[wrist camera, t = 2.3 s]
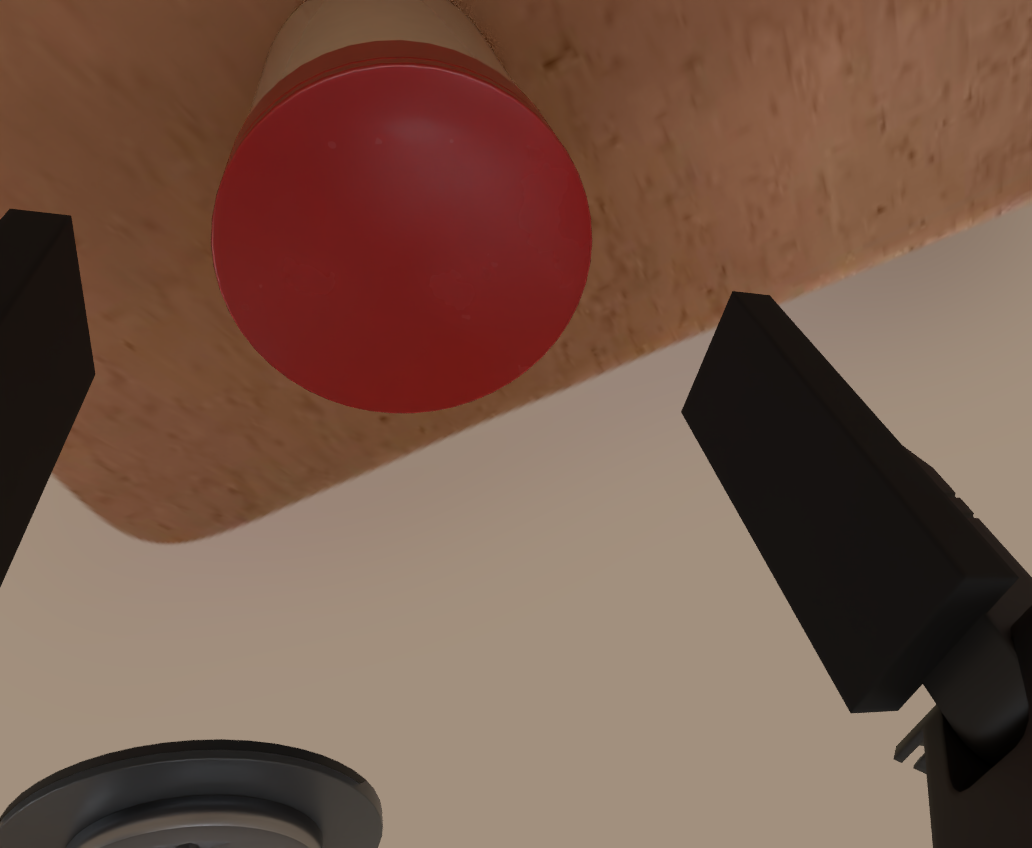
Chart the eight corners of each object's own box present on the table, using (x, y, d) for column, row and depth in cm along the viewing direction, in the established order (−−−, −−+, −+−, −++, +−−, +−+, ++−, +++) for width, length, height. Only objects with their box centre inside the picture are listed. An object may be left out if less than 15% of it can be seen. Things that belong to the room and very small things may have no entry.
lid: (378, 420, 19) (381, 467, 18) (136, 198, 15) (116, 236, 13) (628, 255, 18) (653, 292, 16) (440, -53, 13) (451, -39, 12)
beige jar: (371, 268, 25) (384, 447, 18) (205, 85, 21) (134, 223, 14) (548, 140, 24) (639, 280, 17) (407, -86, 20) (447, -32, 12)
